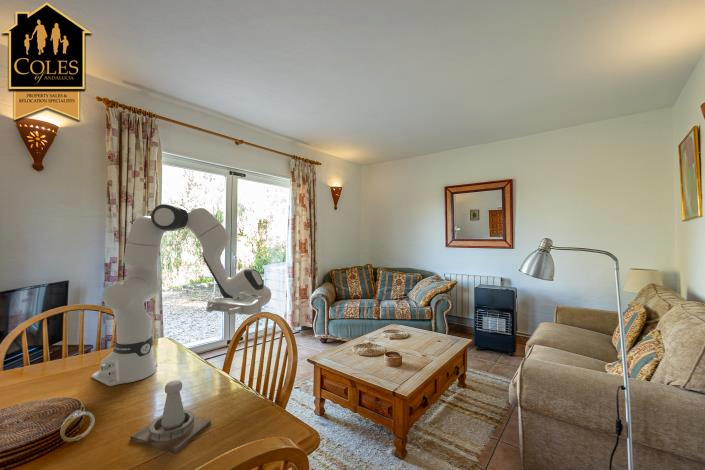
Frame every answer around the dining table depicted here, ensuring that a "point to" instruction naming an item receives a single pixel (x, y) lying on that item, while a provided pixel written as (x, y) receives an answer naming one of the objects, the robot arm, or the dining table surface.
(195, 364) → the dining table surface
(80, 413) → the bracelet
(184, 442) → the ring stand
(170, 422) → the salt shaker
